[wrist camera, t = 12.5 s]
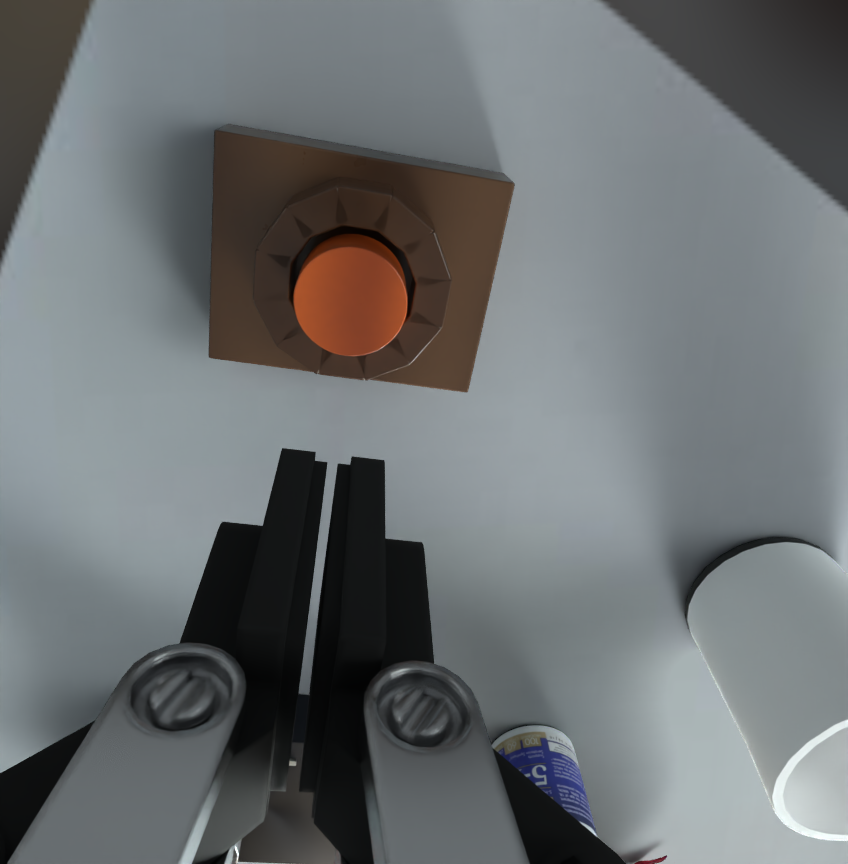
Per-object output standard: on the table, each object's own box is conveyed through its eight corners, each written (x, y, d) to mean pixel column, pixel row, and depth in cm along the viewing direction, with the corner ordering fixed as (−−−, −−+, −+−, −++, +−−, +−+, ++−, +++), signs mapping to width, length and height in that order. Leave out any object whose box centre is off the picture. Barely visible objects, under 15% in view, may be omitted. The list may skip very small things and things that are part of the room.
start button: (294, 329, 24) (288, 348, 22) (304, 224, 22) (298, 238, 21) (397, 344, 24) (398, 363, 23) (413, 242, 23) (416, 256, 21)
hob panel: (150, 807, 42) (134, 860, 39) (146, 647, 35) (126, 697, 33) (380, 819, 44) (380, 870, 41) (415, 668, 37) (418, 717, 35)
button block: (220, 337, 28) (196, 378, 24) (227, 123, 24) (200, 135, 20) (462, 370, 29) (473, 414, 25) (505, 173, 25) (525, 192, 22)
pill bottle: (529, 709, 39) (566, 870, 32) (590, 745, 41) (638, 904, 34) (467, 757, 41) (487, 920, 34) (527, 789, 43) (560, 950, 35)
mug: (642, 597, 36) (731, 780, 27) (793, 497, 33) (947, 663, 24) (747, 695, 40) (853, 881, 31) (888, 613, 37) (1049, 791, 28)
